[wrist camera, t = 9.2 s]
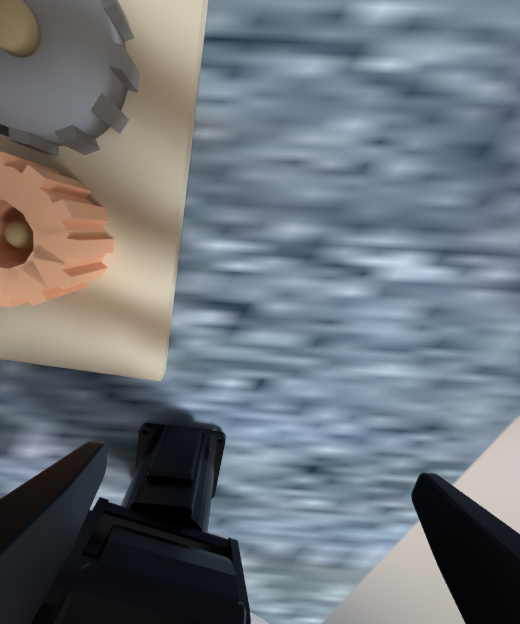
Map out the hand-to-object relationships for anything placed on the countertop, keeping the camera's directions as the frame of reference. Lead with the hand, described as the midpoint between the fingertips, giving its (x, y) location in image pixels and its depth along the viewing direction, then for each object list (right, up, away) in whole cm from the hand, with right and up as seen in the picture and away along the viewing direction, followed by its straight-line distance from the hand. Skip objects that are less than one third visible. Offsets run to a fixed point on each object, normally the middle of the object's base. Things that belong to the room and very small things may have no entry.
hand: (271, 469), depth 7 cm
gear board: (-12, +12, +8) cm, 19 cm away
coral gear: (-12, +9, +8) cm, 17 cm away
